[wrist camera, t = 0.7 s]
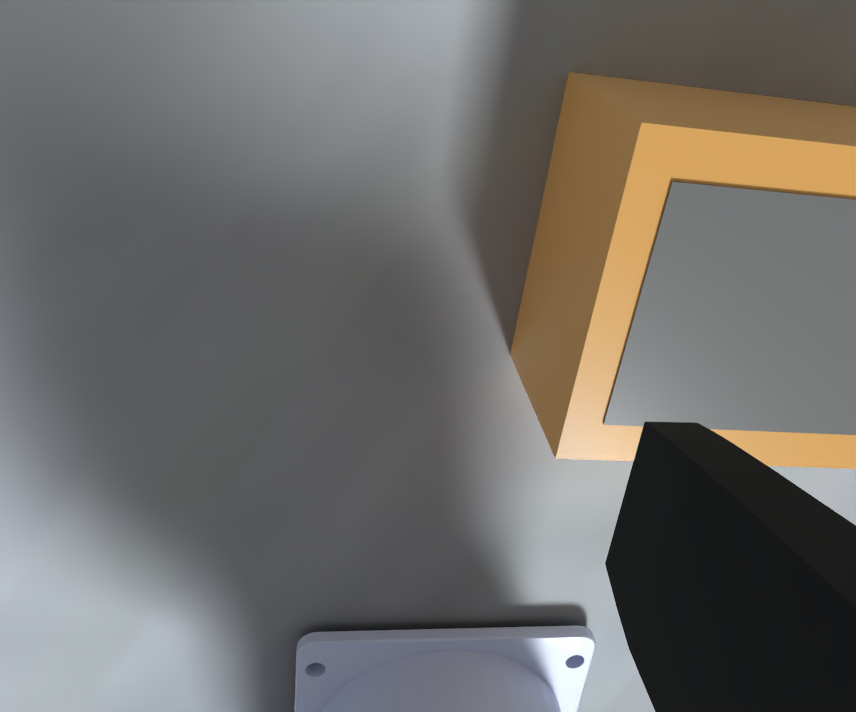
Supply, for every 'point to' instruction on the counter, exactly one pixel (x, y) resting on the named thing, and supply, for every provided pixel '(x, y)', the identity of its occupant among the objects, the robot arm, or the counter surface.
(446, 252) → the counter surface
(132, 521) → the counter surface
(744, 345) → the orange square frame
